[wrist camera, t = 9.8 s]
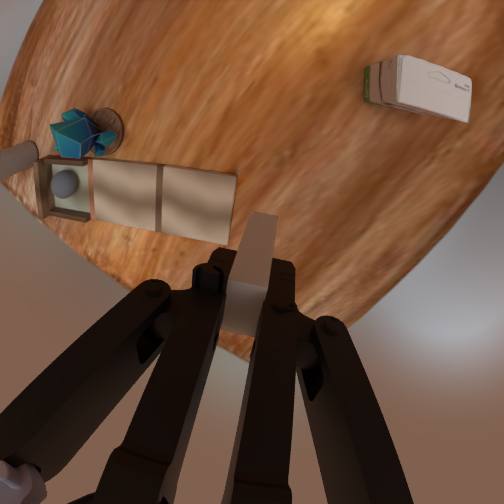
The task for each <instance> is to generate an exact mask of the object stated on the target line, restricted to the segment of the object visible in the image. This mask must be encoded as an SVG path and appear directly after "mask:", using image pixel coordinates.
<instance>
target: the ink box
mask: <svg viewBox="0 0 504 504" xmlns="http://www.w3.org/2000/svg"><path fill="white" fill-rule="evenodd" d="M471 93H472V81H471V79H470V78H468V77H467V76H464V75H461V74H459V73H457V72H455V71H452V70H449V69H446V68H444V67H442V66H439V65H436V64H433V63H430V62H427V61H425V60H422V59H419V58H415V57H412V56H409V55H401V54H400V55H397V56H394V57H392V58H389V59H386V60H384V61H381V62H378V63H376V64H373V65H371V66H368V67H366V68H365V79H364V101H365V102H368V103H373V104H378V105H383V106H388V107H392V108H397V109H401V110H405V111H409V112H413V113H418V114H424V115H430V116H436V117H442V118H447V119H453V120H458V121H462V122H466V123H468V121H469V115H470V107H471Z"/></svg>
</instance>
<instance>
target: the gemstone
mask: <svg viewBox="0 0 504 504" xmlns="http://www.w3.org/2000/svg"><path fill="white" fill-rule="evenodd" d="M61 116H62V118H63V120H64V121H65V122H60V123H55V124H51V125H50V128H51V131H52V134H53V137H54V140H55V142H56V146H55V147H54V150H57V151H59V152H60V155H61V157H69V158H79V159H80V158H82V157H83V156H84V155H86V154H87V153H88V152H89V151H91V152H93V153H94V154H95V156H105V155H108V154H111V153H113V152H114V151H116V150H117V149H118V147H119V146H120V144H121V142H122V140H123V135H124V127H123V123H122V120H121V118H120V116H119V115H118V114H117V113H116V112H115V111H113V110H111V109H108V108H102V109H97V110H95V111H93V112H92V113H91V114H90V115H89V116H88V115H87V114H86V113H84V112H82V111H80V110H78V109H75V108H74V109H72V110H70V111H67V112H65V113H63V114H61Z"/></svg>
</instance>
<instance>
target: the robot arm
mask: <svg viewBox="0 0 504 504" xmlns="http://www.w3.org/2000/svg"><path fill="white" fill-rule="evenodd" d="M277 219H278V216H274V215H269V214H265V213H260V212H255V211H251V214H250V216H249V219H248V222H247V225H246V228H245V231H244V234H243V237H242V240H241V242H240V245H239V248H238V251H235V250H230V249H225V248H221V247H219V248H218V249H216V250H215V251H213V252H212V254H211V256H210V259H209V261H208V263H202V264H199V265H197V266H195V267H194V269H193V275H192V287H191V288H190V289H186V290H171V288H170V286H169V285H168V284H167V283H166V282H164V281H162V280H158V279H150V280H146V281H144V282H142V283H141V284H139V285H138V286H137V287H136V288H135V289H133V290H132V291H131V292H130V293H129V294H128V295H126V297H124V298H123V299H122V300H121V301H120V302H118V303H117V304H116V305H115V306H114V307H113V308H111V309H110V310H109V311H108V312H107V313H106V314H105V315H104V316H102V317H101V318H100V319H99V320H98V321H97V322H96V323H95V324H93V325H92V326H91V327H90V328H89V329H88V330H87V331H86V332H85V333H83V334H82V335H81V336H80V337H79V338H78V339H77V340H76V341H75V342H74V343H72V344H71V345H70V346H69V347H68V348H67V349H66V350H65V351H64V352H63V353H62V354H61V355H60V356H58V357H57V358H56V359H55V360H54V361H53V362H52V363H51V364H50V365H49V366H48V367H47V368H46V369H45V370H44V371H43V372H42V373H41V374H40V375H39V376H38V377H36V378H35V380H33V381H32V382H31V383H30V384H29V385H28V386H27V387H26V388H25V389H24V390H23V391H22V392H21V394H19V395H18V396H17V397H16V398H15V399H14V400H13V401H12V402H11V403H10V405H8V406H7V408H6V409H5V410H4V411H3V412H2V413H1V414H0V504H40V503H41V502H42V501H43V500H44V499H45V498H46V497H47V491H46V486H45V482H47V481H48V480H50V479H51V478H53V477H54V476H55V475H57V474H58V473H59V472H60V471H61V470H62V469H63V468H64V467H65V466H66V465H67V464H68V462H69V461H70V460H71V459H72V458H73V457H74V455H75V454H76V453H77V452H78V450H79V449H80V448H81V447H82V446H83V445H84V443H85V442H86V441H87V440H88V439H89V437H90V436H91V435H92V434H93V433H94V431H95V430H96V429H97V428H98V426H99V425H100V424H101V423H102V422H103V421H104V419H105V418H106V417H107V416H108V414H109V413H110V412H111V411H112V410H113V409H114V407H115V406H116V405H117V404H118V403H119V401H120V400H121V399H122V398H123V397H124V395H125V394H126V393H127V392H128V391H129V390H130V388H131V387H132V386H133V385H134V384H135V382H136V381H137V380H138V379H139V377H140V376H141V375H142V374H143V373H144V372H145V370H146V369H147V368H148V367H149V366H150V364H151V363H152V362H153V361H154V360H155V359H156V357H157V356H158V355H159V354H160V353H161V354H160V356H159V358H158V360H157V363H156V365H155V367H154V369H153V372H152V374H151V377H150V379H149V381H148V383H147V385H146V388H145V390H144V392H143V395H142V397H141V400H140V402H139V404H138V407H137V409H136V411H135V414H134V416H133V419H132V421H131V423H130V426H129V428H128V431H127V433H126V436H125V438H124V440H123V442H122V444H121V445H120V446H119V447H117V448H115V449H114V450H113V452H112V453H111V455H110V457H109V459H108V461H107V464H106V466H105V469H104V471H103V474H102V477H101V479H100V482H99V484H98V487H97V490H96V492H94V493H91V494H88V495H86V496H83V497H81V498H79V499H77V500H75V501H72V502H70V503H68V504H173V502H174V498H175V494H176V489H177V482H178V478H179V475H180V471H181V467H182V464H183V460H184V457H185V453H186V450H187V446H188V443H189V439H190V436H191V432H192V429H193V425H194V421H195V418H196V414H197V411H198V408H199V404H200V400H201V397H202V394H203V390H204V387H205V383H206V380H207V376H208V373H209V369H210V366H211V362H212V359H213V355H214V352H215V349H216V345H217V342H218V338H219V331H220V328H221V330H225V331H230V332H234V333H239V334H243V335H248V336H253V337H255V339H254V343H253V346H252V350H251V354H250V357H251V358H250V363H249V368H248V375H247V379H246V385H245V390H244V395H243V400H242V406H241V411H240V416H239V422H238V426H237V432H236V437H235V442H234V447H233V452H232V457H231V462H230V467H229V472H228V477H227V481H226V486H225V491H224V495H223V499H222V502H221V504H292V492H291V489H290V487H289V485H288V474H289V464H290V452H291V440H292V426H293V411H294V394H295V375H296V372H297V376H298V380H299V384H300V388H301V392H302V396H303V400H304V405H305V409H306V412H307V417H308V421H309V425H310V429H311V433H312V437H313V442H314V446H315V450H316V455H317V459H318V463H319V467H320V472H321V476H322V480H323V485H324V489H325V493H326V497H327V502H328V504H414V503H413V500H412V497H411V494H410V490H409V488H408V484H407V482H406V478H405V475H404V472H403V470H402V467H401V464H400V461H399V458H398V455H397V452H396V449H395V447H394V444H393V441H392V438H391V436H390V433H389V430H388V428H387V425H386V422H385V420H384V417H383V414H382V412H381V409H380V407H379V404H378V402H377V399H376V397H375V394H374V392H373V389H372V387H371V384H370V382H369V379H368V377H367V375H366V372H365V370H364V368H363V365H362V363H361V360H360V358H359V356H358V353H357V351H356V348H355V346H354V344H353V342H352V340H351V337H350V335H349V332H348V330H347V328H346V326H345V325H344V323H343V322H341V321H340V320H339V319H337V318H335V317H332V316H320V317H319V318H317V319H316V321H315V320H313V319H311V318H308V317H307V316H305V315H303V314H302V313H301V312H299V310H298V308H297V305H296V303H295V267H294V266H293V264H292V262H289V261H285V260H280V259H275V258H272V256H273V249H274V241H275V234H276V226H277ZM161 351H162V352H161Z"/></svg>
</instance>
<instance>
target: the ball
mask: <svg viewBox="0 0 504 504" xmlns="http://www.w3.org/2000/svg"><path fill="white" fill-rule="evenodd" d="M76 186H77V181H76V177H75V176H74V174H73V173H72V172H70V171H67V170H63V171H59V172H58V173H56V174H55V175H54V177H53V178H52V181H51V190H52V193H53V194H54V195H55V196H56V197H57V198H60V199H66V198H68V197H70V196H71V195H72V194H73V193H74V192H75V190H76Z"/></svg>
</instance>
